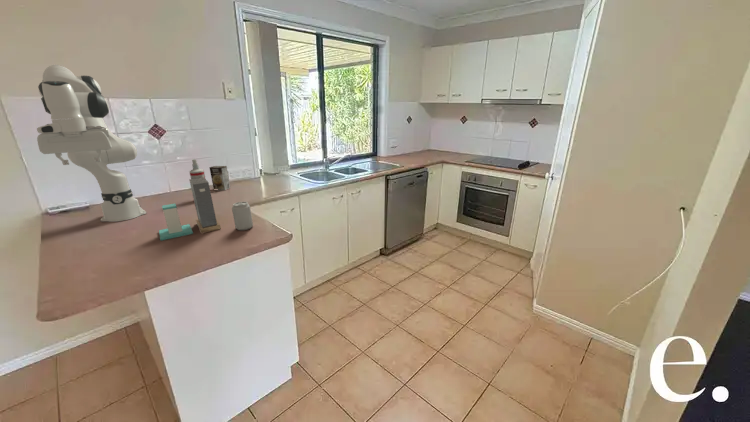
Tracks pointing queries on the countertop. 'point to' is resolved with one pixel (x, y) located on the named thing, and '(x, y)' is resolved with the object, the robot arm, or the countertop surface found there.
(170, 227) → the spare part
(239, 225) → the can
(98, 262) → the countertop surface
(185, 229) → the pad
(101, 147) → the robot arm
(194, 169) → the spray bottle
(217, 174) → the coffee box
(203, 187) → the mounted unit
